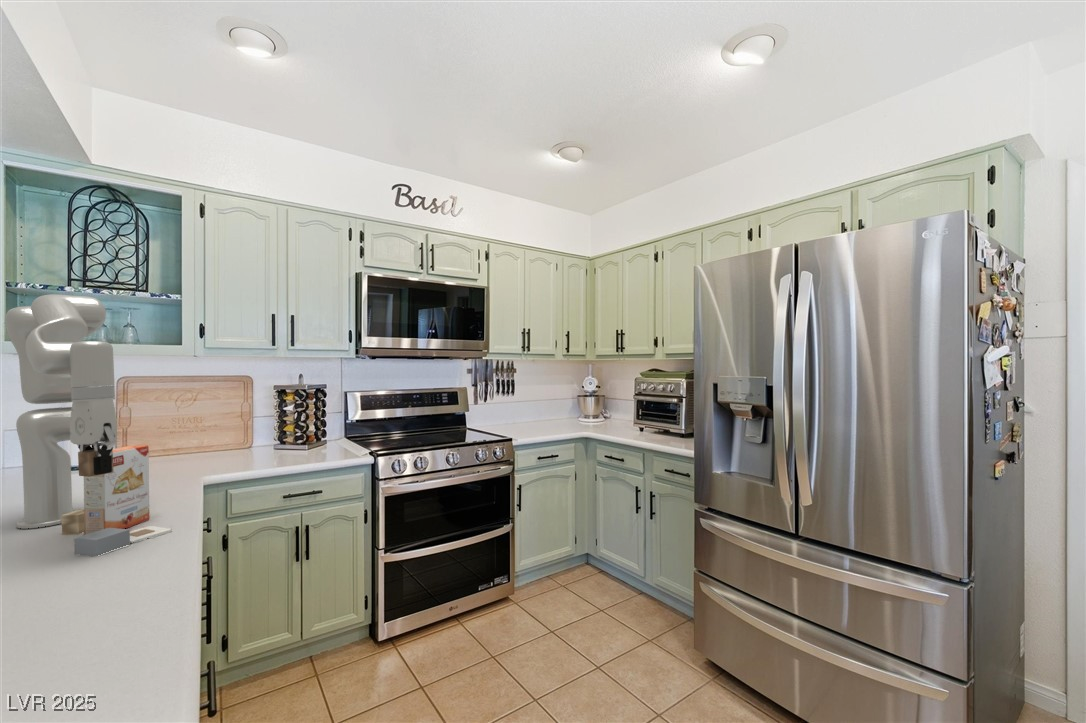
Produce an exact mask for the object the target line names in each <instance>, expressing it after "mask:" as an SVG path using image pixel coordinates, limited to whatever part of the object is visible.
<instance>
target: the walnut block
mask: <svg viewBox="0 0 1086 723" xmlns="http://www.w3.org/2000/svg"><path fill="white" fill-rule="evenodd" d="M113 449H114V448H113ZM113 449H112V452H113ZM94 457H96V456H95V450H88V451H81V452H80V451H78V452H77V459H78V460H77V461H78V476H79V477H84V476H87V477H91V476H97V475H95V474H94V460H93V458H94ZM111 457H112V472H110V473H113V472H114V471H113V453H112V455H111ZM105 474H108V473H105ZM100 475H102V474H100Z"/></svg>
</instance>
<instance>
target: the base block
mask: <svg viewBox="0 0 1086 723" xmlns="http://www.w3.org/2000/svg"><path fill="white" fill-rule="evenodd" d="M73 540H74V541H73V543H74V544H73V545H74V555H76V554H80V555H79V556H84V555H90V556H89V557H93V556H98V555H101V554H103V553H106V552H109V551H111V550H114V549H117V548H120V547H123V546H126V545H129V544H130V528H129V529H128V528H126V529H117V528H106V529H103V530H99V531H96V532H92V533H89V534H86V535H85V534H82V535H80V536H76V537H74V538H73ZM130 545H131V544H130ZM109 553H110V552H109ZM106 554H107V553H106ZM103 555H104V554H103ZM101 556H102V555H101ZM98 557H99V556H98Z"/></svg>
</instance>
